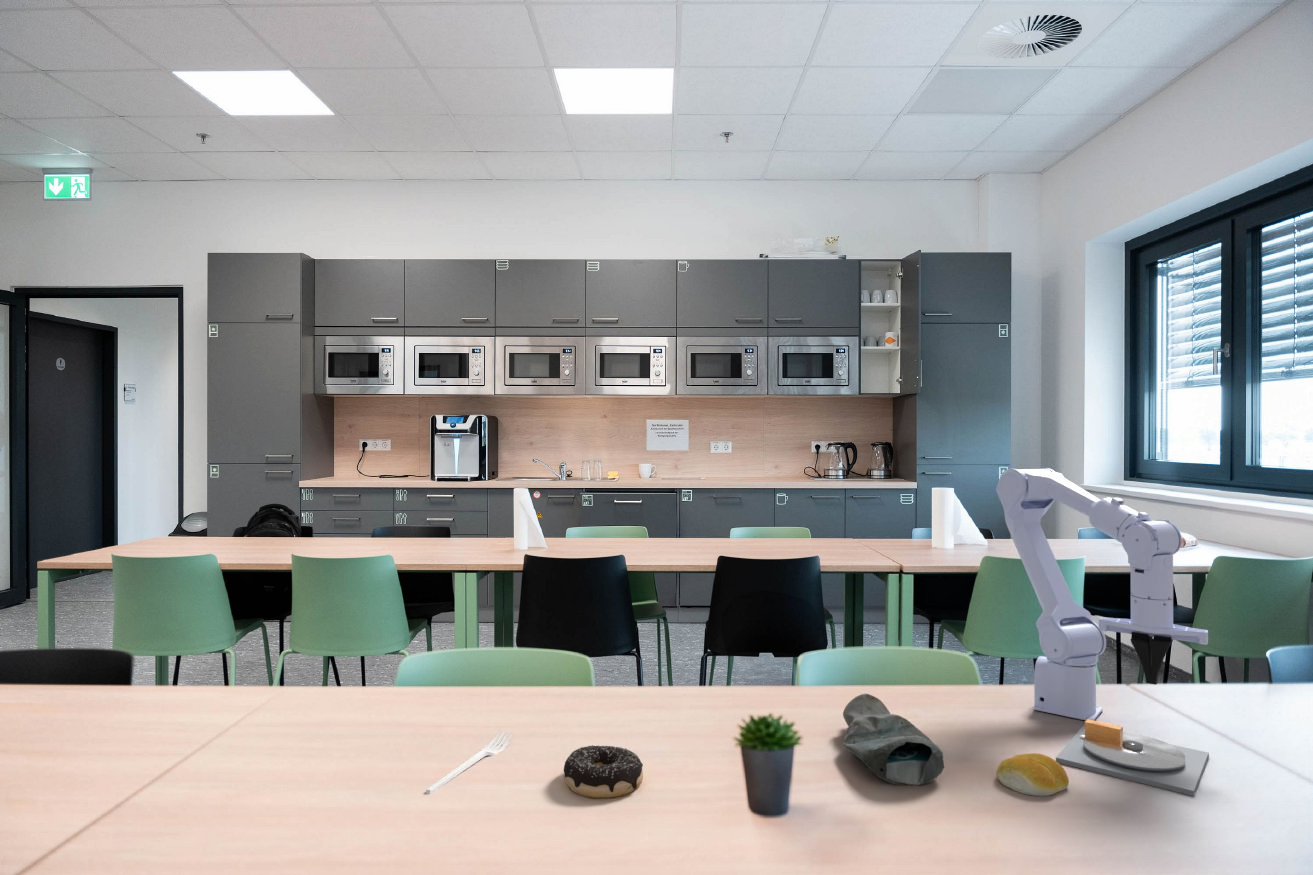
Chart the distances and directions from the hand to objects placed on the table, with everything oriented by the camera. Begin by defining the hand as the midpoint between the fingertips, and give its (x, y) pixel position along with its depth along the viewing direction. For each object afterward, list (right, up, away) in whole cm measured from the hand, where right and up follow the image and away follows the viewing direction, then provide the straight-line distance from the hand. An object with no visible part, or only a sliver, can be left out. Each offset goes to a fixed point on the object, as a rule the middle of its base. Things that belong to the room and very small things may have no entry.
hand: (1151, 682), depth 124 cm
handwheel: (-7, -9, -7) cm, 14 cm away
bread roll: (-26, -10, -15) cm, 32 cm away
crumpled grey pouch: (-44, -10, -5) cm, 45 cm away
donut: (-86, -10, -14) cm, 88 cm away
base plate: (-7, -9, -7) cm, 14 cm away
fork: (-106, -10, -8) cm, 107 cm away
